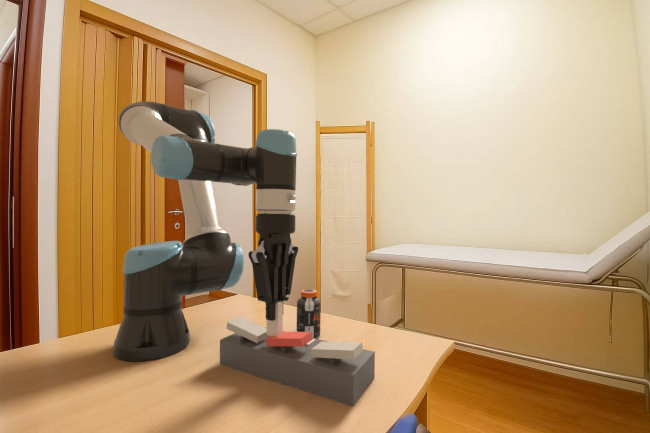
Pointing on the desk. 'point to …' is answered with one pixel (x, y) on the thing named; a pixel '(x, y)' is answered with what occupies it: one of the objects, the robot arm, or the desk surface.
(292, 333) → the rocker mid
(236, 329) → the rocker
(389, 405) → the desk surface
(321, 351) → the block
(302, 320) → the pill bottle
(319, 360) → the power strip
